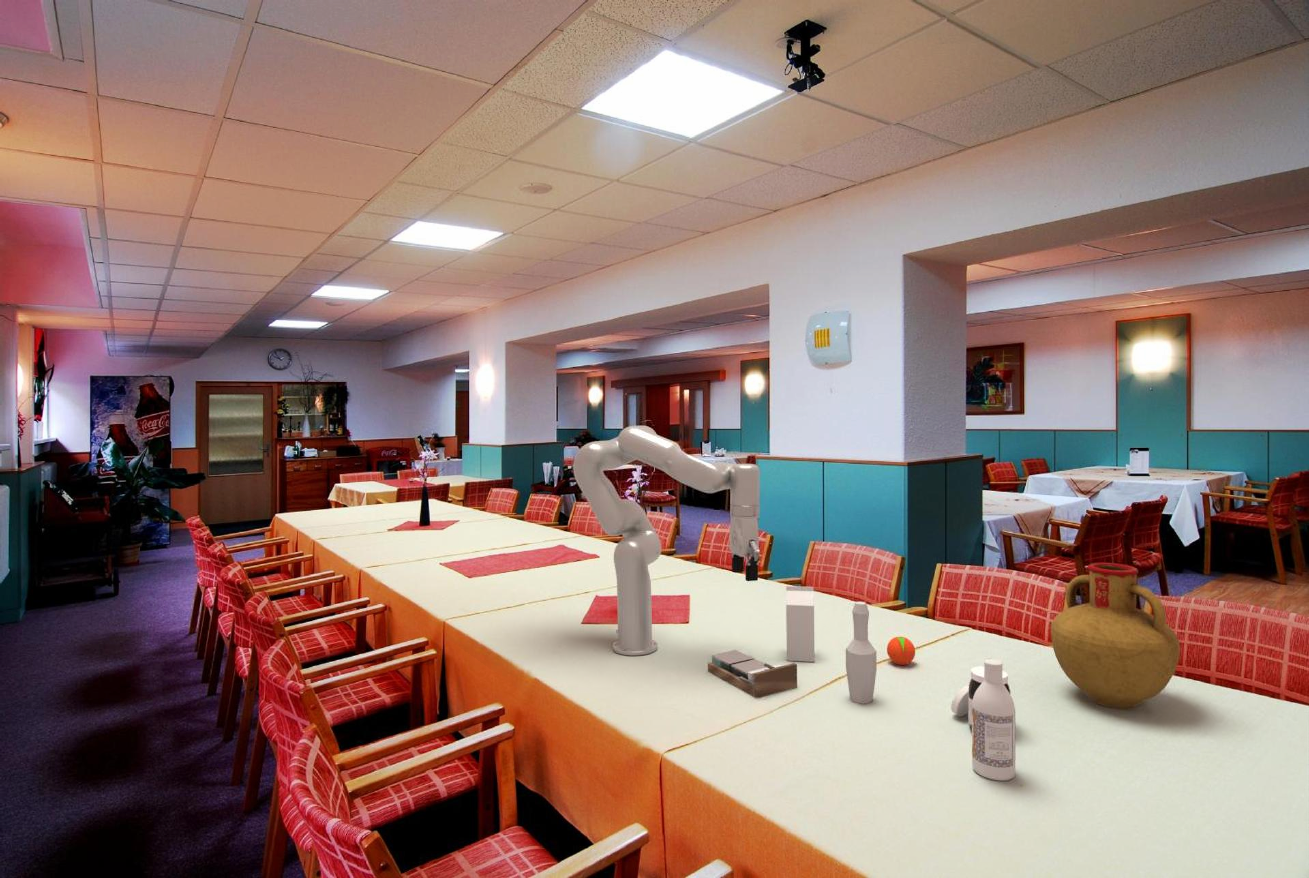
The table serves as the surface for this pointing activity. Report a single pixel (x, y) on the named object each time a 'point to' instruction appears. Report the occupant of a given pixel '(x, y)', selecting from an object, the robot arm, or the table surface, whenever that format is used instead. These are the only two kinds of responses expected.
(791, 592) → the milk carton
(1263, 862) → the table surface
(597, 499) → the robot arm
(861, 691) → the faceted bottle
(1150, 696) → the vase
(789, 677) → the lane
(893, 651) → the clementine
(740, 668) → the white square block
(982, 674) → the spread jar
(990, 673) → the bath foam
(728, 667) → the tin
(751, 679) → the pusher
